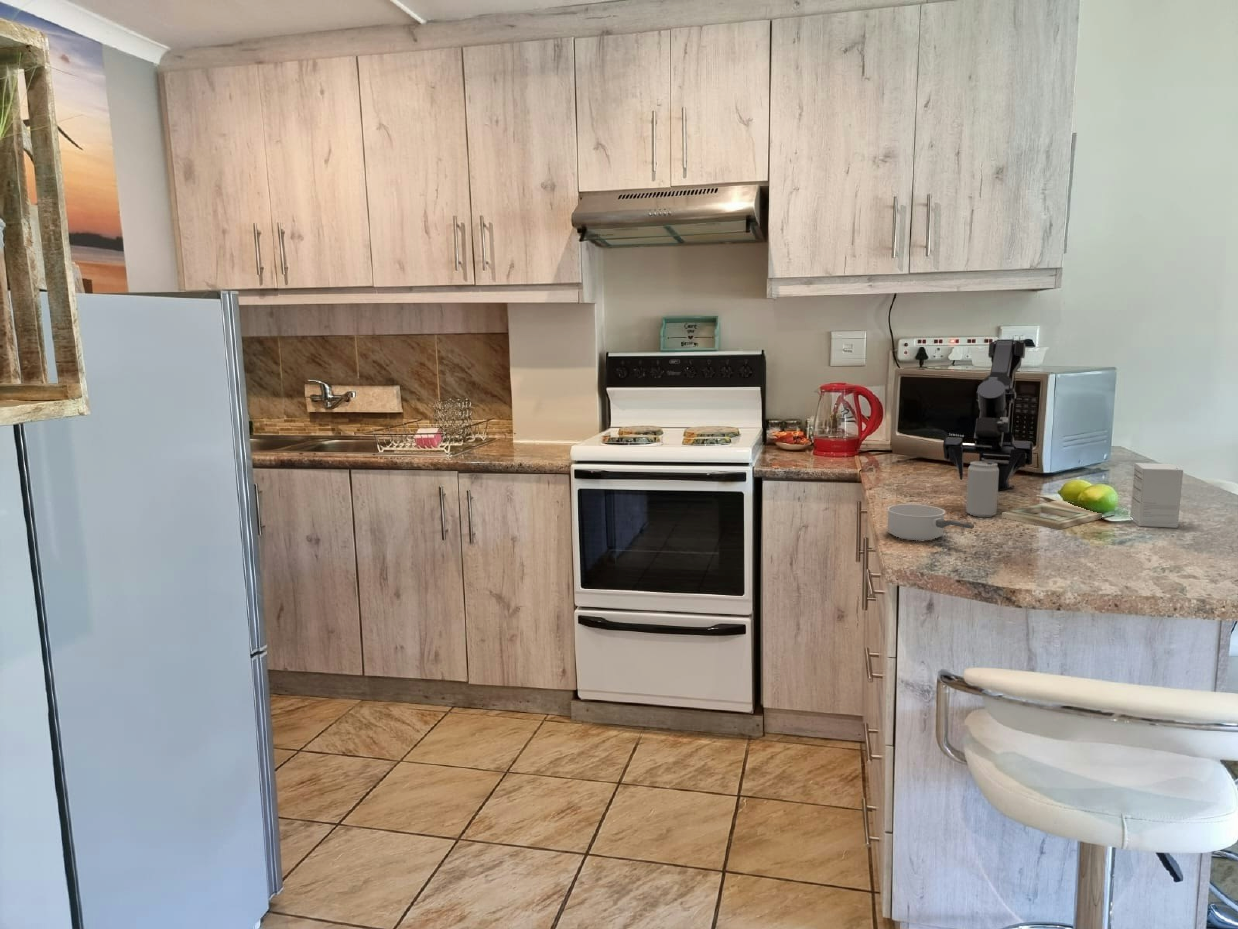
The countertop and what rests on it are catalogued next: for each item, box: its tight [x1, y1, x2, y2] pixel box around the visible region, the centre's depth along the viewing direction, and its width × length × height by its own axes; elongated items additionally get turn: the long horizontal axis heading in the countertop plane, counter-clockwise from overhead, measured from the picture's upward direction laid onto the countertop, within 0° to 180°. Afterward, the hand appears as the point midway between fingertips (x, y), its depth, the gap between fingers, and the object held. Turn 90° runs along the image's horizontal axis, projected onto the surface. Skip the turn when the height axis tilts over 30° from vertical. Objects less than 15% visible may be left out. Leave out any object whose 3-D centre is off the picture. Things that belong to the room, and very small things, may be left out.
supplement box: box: [1129, 462, 1184, 529], centre depth 175 cm, size 7×7×13 cm
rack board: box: [1001, 499, 1102, 530], centre depth 183 cm, size 22×13×1 cm, turn 122°
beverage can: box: [965, 460, 999, 518], centre depth 185 cm, size 6×6×12 cm
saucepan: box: [886, 503, 975, 542], centre depth 165 cm, size 12×20×6 cm, turn 25°
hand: (982, 480), depth 185 cm, fingers open, 9 cm apart
